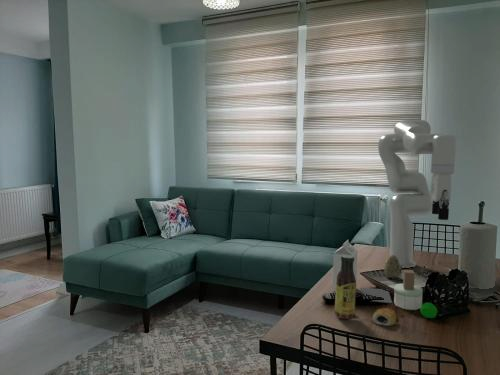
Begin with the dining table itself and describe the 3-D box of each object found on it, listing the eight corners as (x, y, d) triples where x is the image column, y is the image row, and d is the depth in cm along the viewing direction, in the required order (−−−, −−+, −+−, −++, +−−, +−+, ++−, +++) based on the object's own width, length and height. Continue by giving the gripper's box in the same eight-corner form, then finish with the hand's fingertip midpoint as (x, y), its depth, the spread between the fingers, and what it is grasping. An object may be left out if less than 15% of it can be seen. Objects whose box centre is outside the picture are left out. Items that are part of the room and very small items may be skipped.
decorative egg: (385, 275, 167) (386, 252, 166) (400, 278, 164) (402, 254, 163) (383, 280, 162) (384, 256, 161) (398, 283, 159) (400, 258, 158)
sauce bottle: (343, 322, 127) (345, 260, 124) (330, 314, 133) (332, 255, 130) (359, 317, 130) (361, 257, 127) (346, 309, 136) (347, 252, 133)
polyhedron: (420, 320, 128) (421, 305, 128) (419, 313, 133) (419, 299, 132) (437, 322, 127) (438, 307, 126) (435, 315, 131) (436, 301, 131)
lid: (392, 285, 143) (393, 266, 142) (419, 287, 141) (420, 267, 140) (395, 295, 135) (396, 274, 134) (424, 298, 133) (426, 276, 132)
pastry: (379, 312, 134) (379, 301, 134) (400, 317, 131) (401, 306, 130) (370, 323, 127) (371, 311, 126) (393, 329, 123) (393, 317, 122)
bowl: (393, 299, 143) (393, 286, 143) (418, 301, 142) (419, 288, 141) (396, 310, 135) (396, 295, 135) (423, 312, 134) (423, 297, 133)
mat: (360, 289, 153) (360, 287, 153) (388, 291, 151) (388, 289, 151) (361, 302, 142) (362, 300, 142) (392, 304, 140) (392, 302, 140)
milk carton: (332, 293, 150) (333, 242, 147) (337, 286, 156) (339, 238, 153) (351, 296, 147) (353, 245, 144) (356, 289, 153) (357, 240, 150)
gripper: (426, 167, 153) (423, 211, 156) (436, 171, 137) (434, 221, 139) (447, 167, 152) (444, 212, 154) (461, 172, 135) (457, 222, 137)
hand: (439, 216), depth 147 cm, fingers open, 9 cm apart
